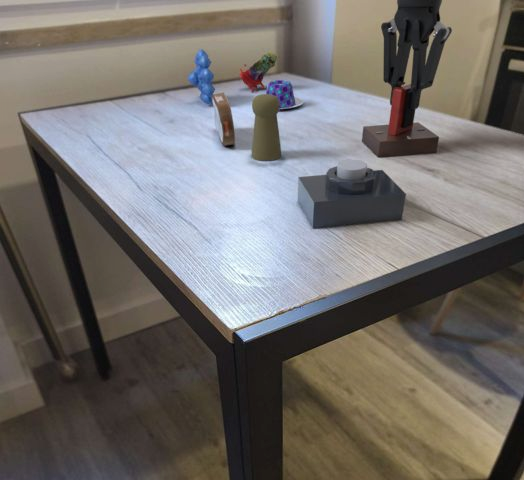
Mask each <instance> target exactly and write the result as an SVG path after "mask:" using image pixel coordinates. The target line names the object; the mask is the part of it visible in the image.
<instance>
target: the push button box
mask: <svg viewBox="0 0 524 480" xmlns="http://www.w3.org/2000/svg"><path fill="white" fill-rule="evenodd" d="M297 179H298V180H297V203H298V205H299V207H300V209H301V211H302V212H303V214H304V216H305V217H306V219H307V222H308V223H309V224H310V226H311V228H312V229H313V230H314V229H323V228H335V227H345V226H354V225H365V224H375V223H385V222H396V221H402V220H403V215H404V208H405V203H406V196H407V193H406V192H405V191H404V190H403V189H402V187H400V186H399V185H398V184H397V183H396V182H395V181H394V180H393V179H392V178H391V177H390V176H389V175H388V174H387V173H386V172H385V170H383V169H376V170H374V169H372V168H370V167H367V170H366V177H365V178H362V179H357V180H348V179H342V178H339V177H337V165H336V166H333V167H331V168H328V170H327V171H326V173H325V174H319V175H307V176H298V178H297Z"/></svg>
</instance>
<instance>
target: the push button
mask: <svg viewBox="0 0 524 480" xmlns="http://www.w3.org/2000/svg"><path fill="white" fill-rule="evenodd" d="M336 166H337V177H339V178H342V179H348V180H357V179H362V178H365V177H366V170H367V168H368V164H367V163H366V162H365V161H363V160H360V159H352V158H351V159H342V160H340V161H338V162H337V165H336Z"/></svg>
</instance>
